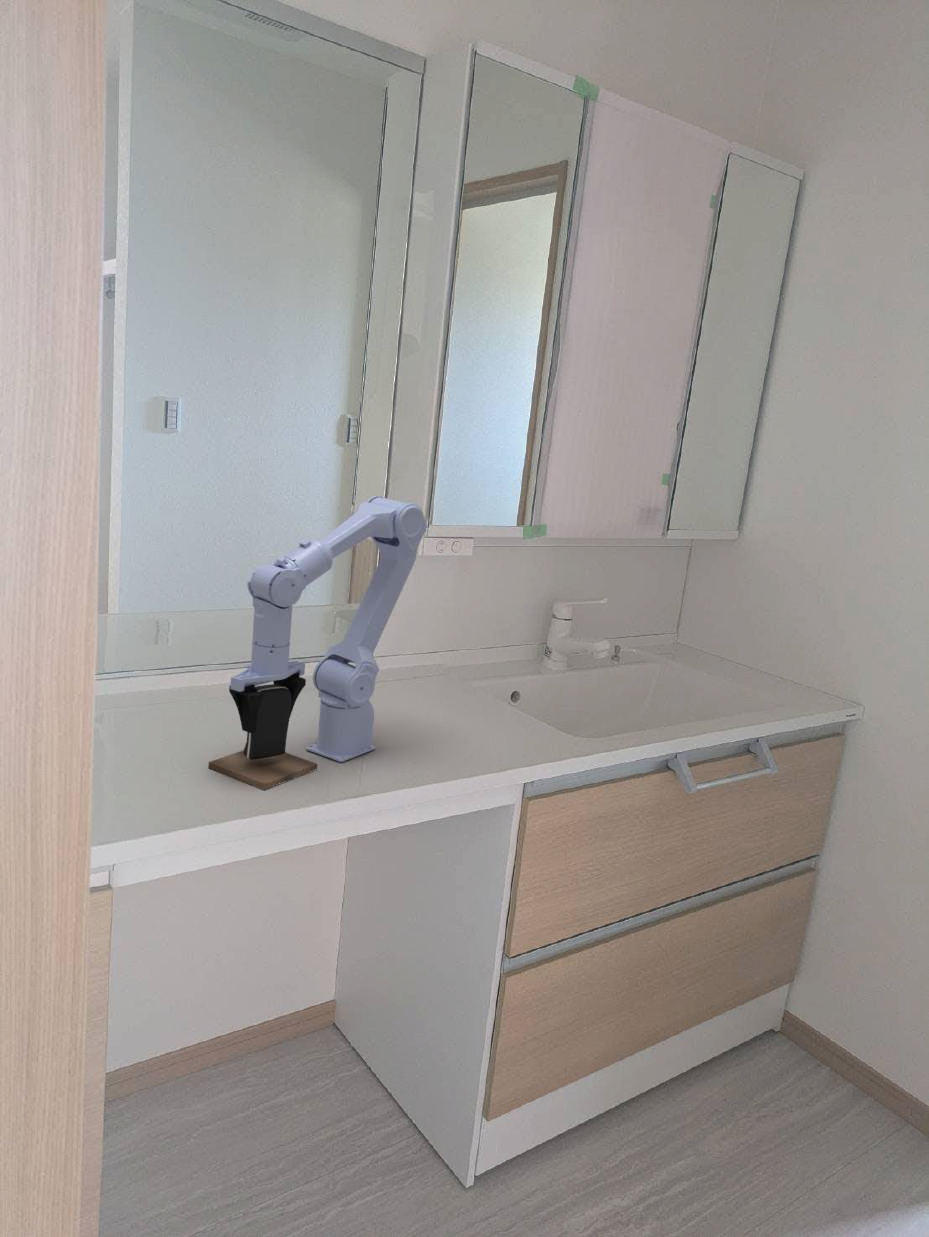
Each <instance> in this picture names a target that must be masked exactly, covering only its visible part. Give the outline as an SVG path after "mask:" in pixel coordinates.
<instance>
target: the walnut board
mask: <svg viewBox="0 0 929 1237" xmlns="http://www.w3.org/2000/svg"><path fill="white" fill-rule="evenodd" d="M243 752H244V749H243V750H241V751H238V752H235V753H232V754H229V755H225V756H223V757H220V758H219V757H218V758H217V759H214V760H211V761H208V769H209V770H212V771H214V772H218V773H219V774H222V775H225V776H227V777H230V778H232V779H235V780H237V779H238V780H237V781H240V780H241V781H240V782H242V783H245V784H247V785H250V784H251V785H250V786H252V785H254V786H253V787H255V786H256V787H255V788H257V787H259V788H258V789H260V788H262V789H267V788H269V789H271V788H270V787H272V786H273V785H276V784H279V783H282V782H284V781H287V780H289V779H292V780H294V779H293V778H295V777H297V776H300V775H302V774H305V775H307V774H309V773H308V772H310V771H312V772H314V771H313V770H315V769H317V770H318V763H316V762H313V761H309V760H308V759H305V758H301V757H298V756H296V755H294V754H291V753H289V752H286V751H285V753H284V754H282V755H278V756H273V757H268V758H262V759H254V760H251V759H248V758H247V757H246V756H245V755H244V754H243ZM315 771H316V770H315ZM306 773H307V774H306ZM310 773H311V772H310ZM302 776H303V775H302ZM300 777H301V776H300ZM297 778H298V777H297ZM295 779H296V778H295ZM289 781H290V780H289ZM287 782H288V781H287ZM284 783H285V782H284ZM282 784H283V783H282ZM279 785H280V784H279ZM272 788H273V787H272ZM262 789H261V790H262ZM267 790H268V789H267Z"/></svg>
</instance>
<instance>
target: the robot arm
mask: <svg viewBox="0 0 929 1237" xmlns="http://www.w3.org/2000/svg"><path fill="white" fill-rule="evenodd" d="M427 528H428V525H427V522H426V518H425V515H424V511H423V509H422V508H421V507H420V506H419V505H418V504H416V503H412V502H405V501H404V502H403V501H399V500H396V499H390V498H387V497H384V496H382V495H375V496H372V497H369V498H368V499H367V500H366V501H364V502H362V503H360V504H359V505H358V508H357V511H356V512H355V513H354V514H352V515H351V516H350V517H349V518H347V519H346V520H345V521H343V523H341V524H340V525H339V526H337V527H336V528H334V530H332V531H331V532H330V533H328V534H327V535H326V536H325V537H323V538H322V539H320V540H319V539H318V540H317V539H314V538H311V539H303V540H301V541H300V542H299V543H298V546H297V547H296V548H294V549H293V550H292V551H290V552H288V553H287V554H286V555H284V556H279V557H278V558H277V559H276V561H275V562H274V563H273V564H270V563H268V564H267V563H266V564H262V565H261V566H259V567H257V569H256V570H254V571H253V573H252V575H251V577H250V580H249V581H247V582H246V584H247V586H246V587H247V590H248V593H249V594H250V596H251V597H252V607H253V609H254V610H253V623H252V624H253V625H252V644H251V645H252V646H251V659H250V661H251V662H250V664H247V666H246V668H247V669H245V670H244V671H242V672H240V673H238V674H236V675H233V676H231V677H230V684H229V687H228V690H229V694H230V695H231V697H232V699H233V701H234V703H235V706H236V710H237V711H238V712H237V713H238V716H239V719H240V725H241V729H242V730H241V731H242V732H243V731H244V732H246V733H247V732H249V733H254V732H255V730H256V725H257V716H258V711H259V707H260V704H261V701H262V699H263V697H264V695H265V694H264V693H261V692H258V691H257V689H255V687H256V686H261V685H265V684H268V683H271V682H273V683H272V684H277V685H280V686H282V687H286V688H287V689H288V690H289V691H290V693H291V709H290V718H291V716H292V712H293V710H294V707H295V704H296V702H297V701H296V700H297V699H298V697H299V695H300V694H301V692H302V690H303V689H304V688H305V686H306V684H307V683H306V682H307V680H306V678H304V677H301V676H305V674H306V673H305V669H306V663H304V662H301V661H298V660H293V661H290V659H289V658H290V649H291V648H290V646H291V632H292V614H293V605H295V604H296V603H298V601H299V600H300V598H301V596H302V593H303V591H304V590H306V588H307V586H309V585H310V584H312V583H313V582H315V581H316V580H317V579H318V578H320V577H321V576H323V575H325V574H326V573H327V572H328V571H330V570H331V569H332V567H333V562H334V558H336V557H338V556H340V555H342V553H344V552H347V551H348V550H350V549H351V548H353V547H355V546H356V545H358V544H359V543H361V542H363V541H364V540H366V539H368V538H370V539H371V540H372V541H373V543H374V545H375V546H376V547H377V549H378V551H379V554H380V559H379V562H378V564H377V566H376V569H375V571H374V573H373V575H372V577H371V579H370V582H369V584H368V586H367V588H366V590H365V592H364V594H363V596H362V599H361V600H360V603H359V605H358V607H357V610H356V612H355V614H354V616H353V618H352V621H351V623H350V625H349V626H348V630H347V632H346V634H345V635H344V638H343V640H342V641H340V642H337V643H336V644H334V645H333V646H330V647H328V649H327V652H326V654H325V655H324V657H323V658H322V659H321V660H320V661H319V662H318V663H316V666H315V668H314V670H313V674H312V683H313V686H314V688H316V690H317V691H318V697H319V699H320V703H319V705H320V706H319V717H318V732H317V743H312V744H310V745H307V746H306V747H305V750H306V751H309V752H312V753H313V754H317V755H320V756H322V757H325V758H329V759H331V760H333V761H336V762H339V763H343V762H346V761H347V760H350V759H353V758H356V757H358V756H362V755H363V754H366V753H368V752H371V751H374V750H375V749H376V746H375V745H373V733H374V722H375V721H374V720H375V710H374V707H373V704H372V702H371V701H370V699H371V698H372V696H373V695H374V694H373V693H374V691H375V686H376V678H377V674H378V673H379V671H380V668H379V665H378V663H377V660H376V659H375V657H374V652H375V651H376V650H375V649H376V648H377V646H378V644H379V641H380V639H381V638H382V635H383V632H384V630H385V628H386V626H387V623H388V621H389V620H390V617H391V615H392V612H393V611H394V608H395V606H396V605H397V602H398V600H399V598H400V595H401V593H402V591H403V589H404V586H405V584H406V582H407V580H408V578H409V575H410V573H411V572H412V569H413V567H414V564H415V561H416V559H417V554H418V549H419V545H420V543H421V542H422V539H423V536H424V535H425V532H426V530H427ZM350 663H351V664H350ZM352 663H353V664H354V665H353V664H352ZM290 718H289V720H290Z"/></svg>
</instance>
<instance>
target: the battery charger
mask: <svg viewBox="0 0 929 1237" xmlns="http://www.w3.org/2000/svg"><path fill="white" fill-rule="evenodd" d="M255 689H257V691H258V692H261V693H264V694H265V695H264V697H263V699H262V701H261V704H260V707H259V711H258V716H257V725H256V730H255V732H254V733H249V732H246V736H247V737H246V742H245V746H244V749H243V750H244V752H243V754H244V755H245V756H246V757H247V758H248V759H251V760H254V759H262V758H268V757H273V756H278V755H282V754H284V753H285V752H286V747H287V738H288V737H287V736H288V729H289V722H290V719H289V718H291V716H290V709H291V693H290V691H289V690H288V689H287V688H286V687H282V686H280V685H277V684H274V683H272V684H261V685H257V686H255Z"/></svg>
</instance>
